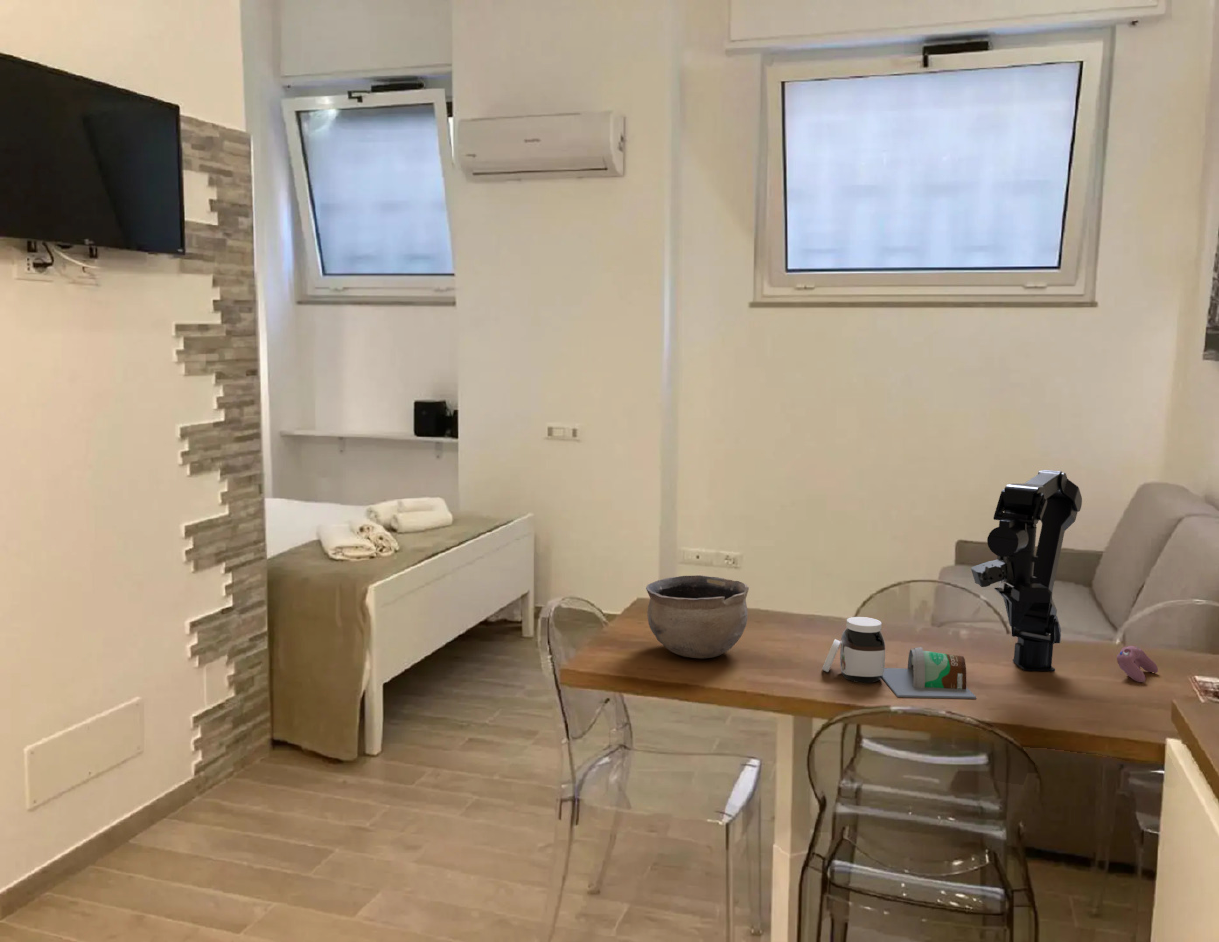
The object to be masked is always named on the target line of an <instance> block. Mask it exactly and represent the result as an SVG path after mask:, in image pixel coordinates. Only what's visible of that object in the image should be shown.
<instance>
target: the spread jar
mask: <svg viewBox="0 0 1219 942" xmlns="http://www.w3.org/2000/svg"><path fill="white" fill-rule="evenodd" d="M882 624H883V623H882V621H880V620H878V619H876V618H872V617H866V616H852V617H848V618H847V619H846V628H845V629H844V630H843V632H842V634H841V639H840V640H838V639H837V638H835V639H834V640H833V643H832V644H831V646H830V649H829V651H828V653H827V656H826V657H825V658H826V659H825V661H824V663H823V666H822V667H821V670H822V671H824V672H826V673H829V672H830V669H831V667H832V665H833V662H834V659H836V656H837V653H838V650H839V649H840V651H839V655H840V656H839V664H840V665H839V666H840V671H841V674H842V675H843V677H844V678H845V679H846V680H847V681H848V680H849V681H851V682H853V683H861V684H870V683H871V684H872V683H876V682H878V681H880V680H881V679H882V677H883V674H884V668H886V666H885V664H886V663H885V662H886V642H885V639H884V636H883V634H882V627H883V626H882Z"/></svg>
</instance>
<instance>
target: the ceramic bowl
mask: <svg viewBox="0 0 1219 942" xmlns="http://www.w3.org/2000/svg"><path fill="white" fill-rule="evenodd" d="M749 588H750V587H749V586H748V584H746V583H744V582H741V581H738V580H733V579H726V578H723V577H719V576H718V577H717V576H715V577H714V576H709V575H680V576H679V575H678V576H671V577H667V578H663V579H658V580H656V581H654V582H650V583H649V584H648V583H647V585H646V587H645V590H646V593H647V594H648V596H649V601H648V604H647V612H646V613H647V622H648V626H649V628H650V630H651V632H652V633H653V635H654V636H655V638H656V639H657V641H658V642H659V643H660V644H662V646H663V647H665V648H666V649H667V650H668V651H670V652H672V653H673V654H676V655H678V656H681V657H684V658H691V659H709V658H710V659H711V658H716V657H719V656H721V655H723V654H725V653H726V652H727V651H729V650H731V649H732V648H733V647H734V646H735V645H736V644H737V642H738V641H739V640H740V638H741V637H742V635H743V633H744V632H745V629H746V627H747V624H748V623H747V622H748V606H747V601H746V598H747V597H748V592H749V590H750V589H749Z"/></svg>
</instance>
